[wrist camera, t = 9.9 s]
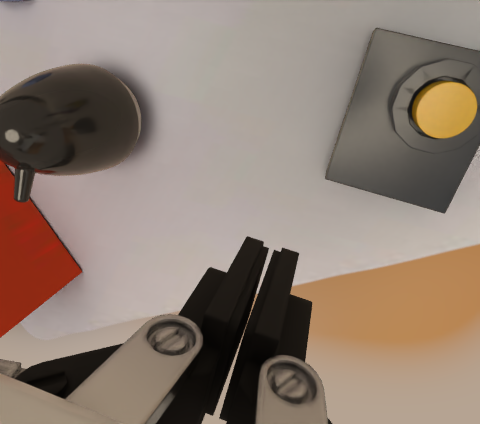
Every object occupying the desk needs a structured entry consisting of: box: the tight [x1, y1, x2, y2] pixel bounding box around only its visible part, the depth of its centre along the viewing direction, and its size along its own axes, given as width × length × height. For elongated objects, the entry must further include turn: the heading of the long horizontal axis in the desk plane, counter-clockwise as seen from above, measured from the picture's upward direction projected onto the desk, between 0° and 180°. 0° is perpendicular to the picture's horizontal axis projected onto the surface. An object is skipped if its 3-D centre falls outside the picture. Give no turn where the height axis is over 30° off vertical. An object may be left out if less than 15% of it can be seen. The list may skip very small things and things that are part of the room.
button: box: [412, 81, 477, 138], centre depth 28 cm, size 4×4×2 cm
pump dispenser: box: [0, 64, 141, 203], centre depth 34 cm, size 10×10×15 cm
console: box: [325, 28, 480, 213], centre depth 32 cm, size 13×11×4 cm
